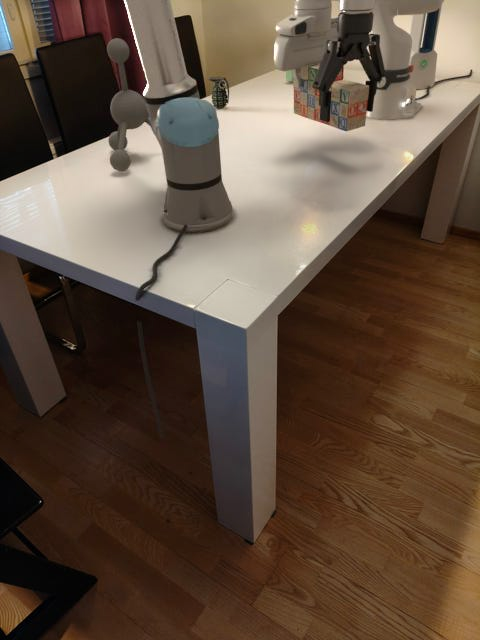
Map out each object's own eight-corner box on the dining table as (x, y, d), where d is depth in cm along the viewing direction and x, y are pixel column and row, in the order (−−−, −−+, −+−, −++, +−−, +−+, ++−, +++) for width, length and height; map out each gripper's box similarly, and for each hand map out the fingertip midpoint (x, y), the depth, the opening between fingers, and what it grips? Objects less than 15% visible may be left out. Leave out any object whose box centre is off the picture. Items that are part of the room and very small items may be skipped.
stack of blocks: (366, 126, 118) (371, 71, 110) (346, 132, 116) (350, 76, 108) (311, 108, 133) (312, 58, 125) (292, 113, 131) (292, 62, 123)
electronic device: (404, 91, 183) (418, -5, 165) (394, 86, 189) (407, -6, 171) (434, 87, 186) (451, -7, 167) (423, 83, 191) (438, -9, 173)
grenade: (209, 109, 176) (207, 79, 170) (214, 105, 180) (212, 76, 174) (227, 110, 174) (225, 79, 168) (231, 105, 179) (229, 76, 173)
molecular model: (194, 162, 134) (180, 38, 116) (114, 177, 128) (87, 49, 110) (171, 138, 152) (156, 27, 133) (100, 151, 146) (75, 36, 127)
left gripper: (385, 5, 112) (373, 103, 124) (298, 15, 102) (295, 121, 115) (410, 7, 106) (395, 109, 119) (322, 18, 96) (315, 129, 109)
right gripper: (337, 15, 122) (333, 75, 131) (270, 26, 115) (270, 89, 123) (354, 17, 118) (349, 79, 127) (285, 28, 110) (285, 94, 119)
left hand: (346, 115), depth 117 cm, fingers open, 13 cm apart
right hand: (310, 84), depth 125 cm, fingers closed on stack of blocks, 6 cm apart
